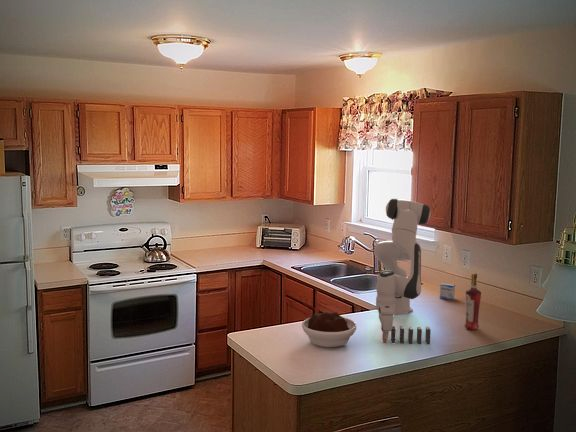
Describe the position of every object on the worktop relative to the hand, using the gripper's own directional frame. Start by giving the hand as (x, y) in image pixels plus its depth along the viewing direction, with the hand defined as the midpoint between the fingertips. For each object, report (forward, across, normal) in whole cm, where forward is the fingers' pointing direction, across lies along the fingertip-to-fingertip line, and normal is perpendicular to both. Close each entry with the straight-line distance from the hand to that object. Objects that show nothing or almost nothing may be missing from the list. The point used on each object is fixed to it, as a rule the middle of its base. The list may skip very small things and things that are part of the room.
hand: (384, 334), depth 275 cm
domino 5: (+4, 0, +16) cm, 16 cm away
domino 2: (+4, 0, +4) cm, 5 cm away
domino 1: (+4, 0, 0) cm, 4 cm away
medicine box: (+4, -77, +46) cm, 90 cm away
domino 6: (+4, 0, +20) cm, 20 cm away
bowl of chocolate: (+4, +4, -26) cm, 27 cm away
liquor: (+4, -22, +46) cm, 51 cm away
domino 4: (+4, 0, +12) cm, 12 cm away
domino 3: (+4, 0, +8) cm, 9 cm away
